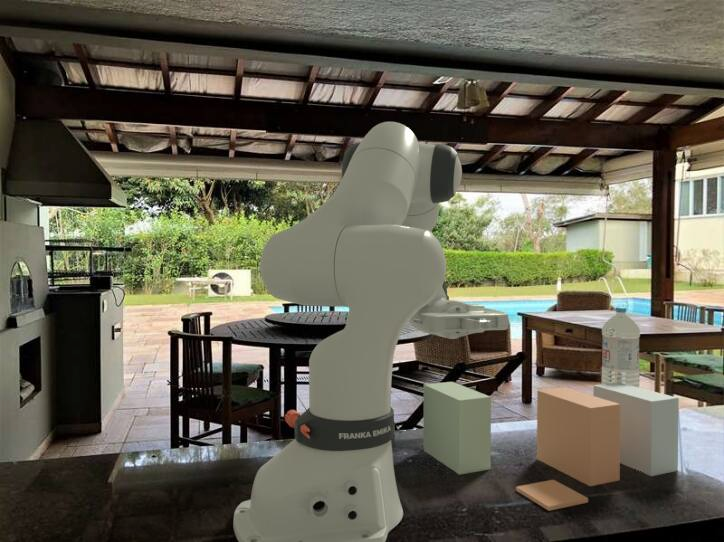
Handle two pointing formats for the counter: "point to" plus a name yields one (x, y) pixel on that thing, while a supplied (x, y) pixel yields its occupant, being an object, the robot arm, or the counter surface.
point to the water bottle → (620, 350)
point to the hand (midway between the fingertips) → (484, 325)
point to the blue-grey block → (645, 427)
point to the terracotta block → (579, 435)
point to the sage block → (457, 427)
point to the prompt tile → (551, 495)
